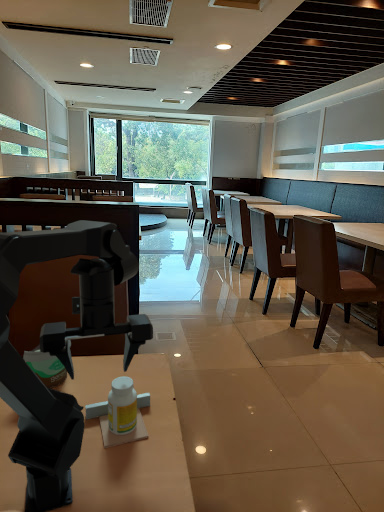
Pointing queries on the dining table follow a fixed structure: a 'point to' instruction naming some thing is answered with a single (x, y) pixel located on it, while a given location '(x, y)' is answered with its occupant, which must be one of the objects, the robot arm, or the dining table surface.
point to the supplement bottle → (122, 406)
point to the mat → (115, 439)
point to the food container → (46, 367)
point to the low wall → (102, 407)
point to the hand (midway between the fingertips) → (99, 374)
